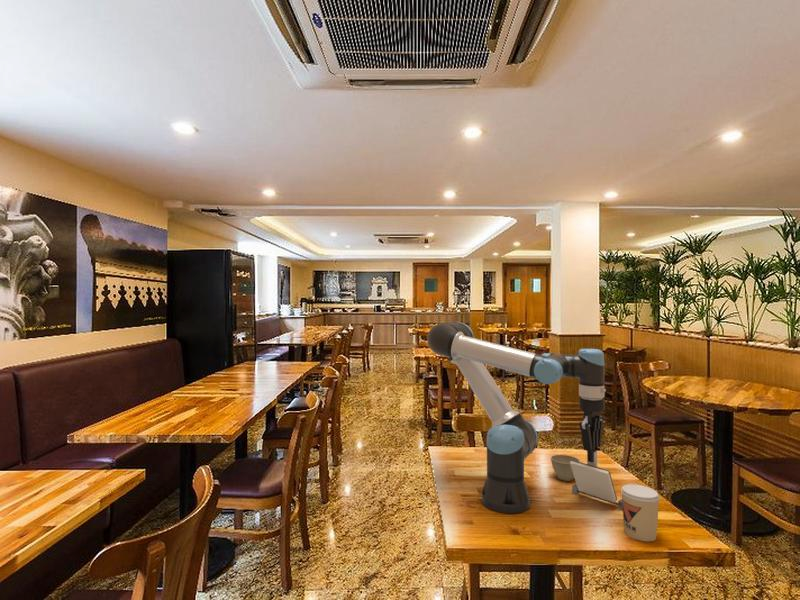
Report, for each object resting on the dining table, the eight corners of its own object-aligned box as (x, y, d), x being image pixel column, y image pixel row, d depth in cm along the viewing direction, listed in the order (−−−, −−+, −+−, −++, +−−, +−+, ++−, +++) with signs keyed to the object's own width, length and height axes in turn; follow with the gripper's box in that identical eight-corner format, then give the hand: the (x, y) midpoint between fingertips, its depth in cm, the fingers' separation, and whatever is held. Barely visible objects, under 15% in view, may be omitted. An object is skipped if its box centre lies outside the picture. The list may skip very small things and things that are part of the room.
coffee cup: (614, 526, 125) (614, 484, 125) (645, 524, 125) (645, 483, 126) (634, 543, 116) (633, 498, 116) (667, 542, 116) (667, 497, 116)
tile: (617, 499, 137) (615, 502, 136) (580, 487, 146) (578, 490, 145) (609, 470, 133) (607, 473, 132) (571, 459, 142) (569, 462, 141)
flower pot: (584, 484, 154) (584, 463, 154) (556, 483, 154) (556, 463, 154) (573, 473, 164) (573, 454, 164) (547, 473, 164) (547, 454, 164)
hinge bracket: (623, 510, 134) (623, 502, 134) (572, 492, 147) (572, 485, 147) (626, 508, 136) (626, 500, 136) (575, 491, 148) (575, 484, 148)
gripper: (594, 403, 132) (595, 480, 132) (612, 396, 141) (612, 468, 141) (570, 398, 138) (571, 473, 138) (589, 392, 146) (589, 462, 146)
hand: (592, 470), depth 139 cm, fingers closed
